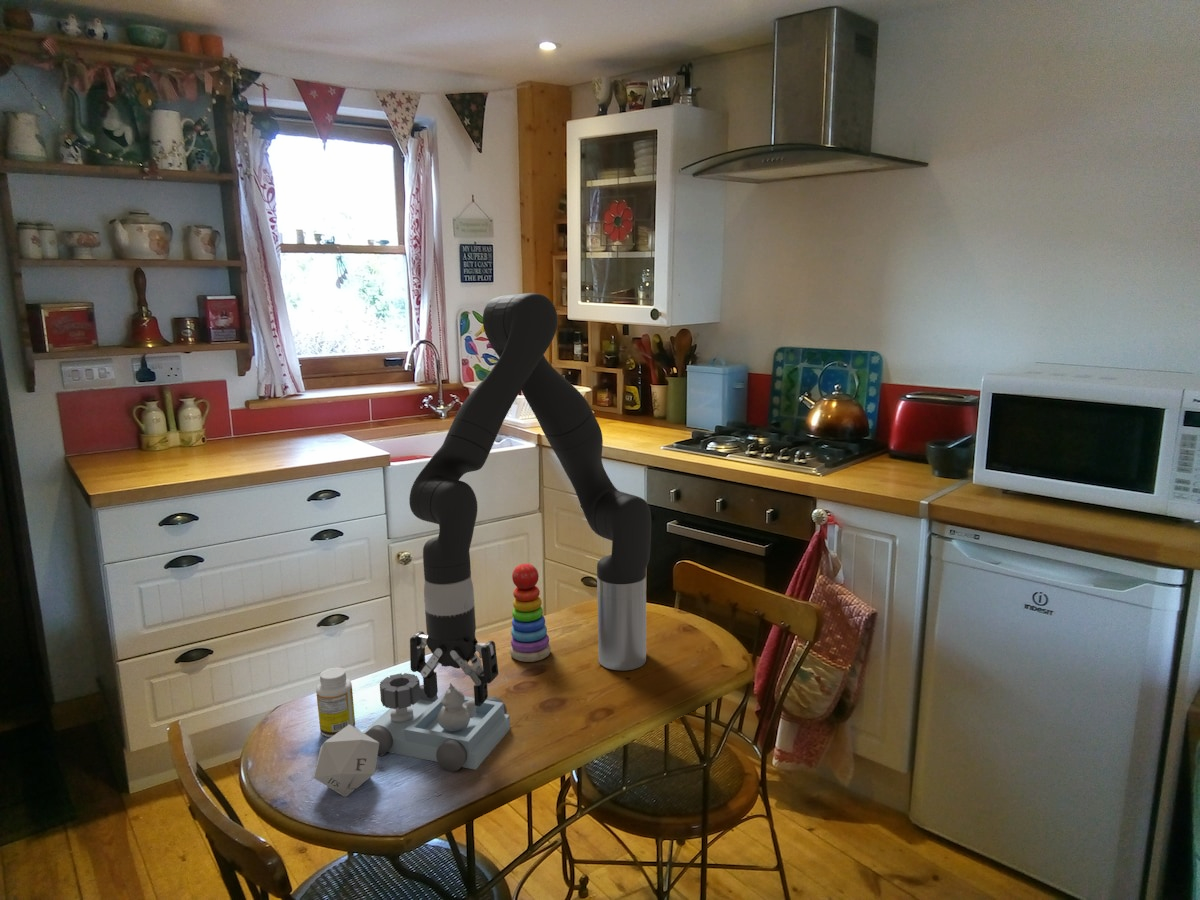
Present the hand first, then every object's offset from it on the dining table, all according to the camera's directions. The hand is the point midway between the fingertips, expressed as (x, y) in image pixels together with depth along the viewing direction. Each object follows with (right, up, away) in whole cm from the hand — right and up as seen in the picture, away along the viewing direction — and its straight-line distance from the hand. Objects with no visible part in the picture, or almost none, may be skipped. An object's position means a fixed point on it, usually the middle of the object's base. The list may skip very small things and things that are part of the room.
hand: (455, 699), depth 129 cm
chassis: (-3, -7, +3) cm, 8 cm away
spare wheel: (-10, -1, +4) cm, 10 cm away
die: (-14, -10, -9) cm, 19 cm away
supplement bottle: (-20, -7, +5) cm, 22 cm away
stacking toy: (+9, -1, +32) cm, 33 cm away
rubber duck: (0, -5, +1) cm, 5 cm away
